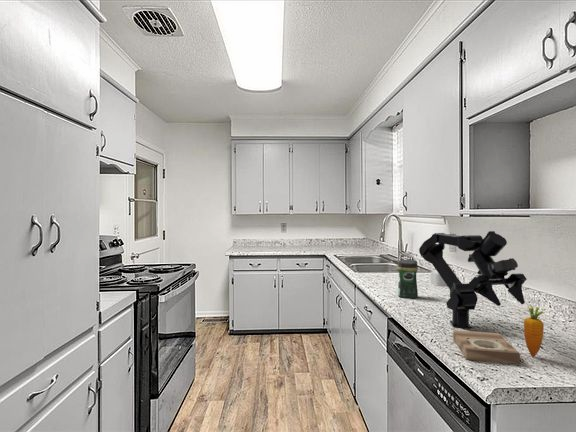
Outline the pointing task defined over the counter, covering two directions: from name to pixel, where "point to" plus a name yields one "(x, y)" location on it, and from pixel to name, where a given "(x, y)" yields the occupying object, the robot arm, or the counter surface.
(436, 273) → the lumpy-topped squat cylinder
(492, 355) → the hole board
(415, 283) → the coffee jar
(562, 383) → the counter surface
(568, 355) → the counter surface
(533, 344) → the carrot
